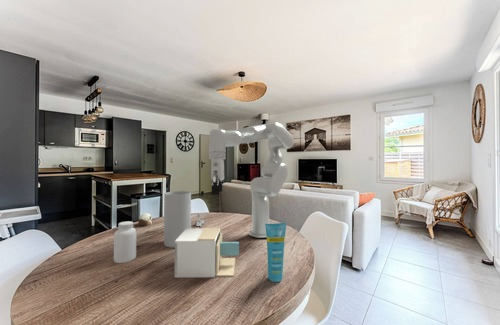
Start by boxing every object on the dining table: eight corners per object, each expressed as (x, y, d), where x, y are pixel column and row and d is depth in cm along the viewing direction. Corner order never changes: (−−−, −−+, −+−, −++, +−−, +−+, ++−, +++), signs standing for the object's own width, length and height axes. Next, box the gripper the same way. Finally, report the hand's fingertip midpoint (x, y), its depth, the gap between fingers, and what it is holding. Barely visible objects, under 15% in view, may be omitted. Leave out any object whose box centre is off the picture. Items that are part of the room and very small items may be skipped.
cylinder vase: (183, 237, 112) (183, 190, 112) (195, 243, 103) (195, 192, 103) (159, 243, 103) (160, 192, 103) (170, 250, 94) (170, 195, 94)
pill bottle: (140, 256, 88) (140, 221, 88) (123, 265, 80) (123, 226, 80) (126, 253, 91) (126, 219, 91) (108, 262, 83) (109, 224, 83)
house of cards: (210, 227, 129) (210, 215, 129) (195, 228, 127) (195, 216, 127) (208, 223, 138) (208, 211, 138) (195, 224, 135) (195, 212, 135)
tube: (267, 283, 69) (267, 225, 69) (263, 275, 73) (263, 221, 73) (288, 280, 70) (288, 224, 70) (282, 273, 75) (283, 220, 75)
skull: (140, 220, 138) (152, 209, 138) (150, 232, 136) (161, 221, 136) (128, 224, 126) (141, 212, 126) (139, 237, 124) (151, 225, 124)
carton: (235, 258, 86) (235, 227, 86) (233, 277, 72) (233, 239, 72) (186, 258, 86) (186, 227, 86) (174, 277, 72) (174, 239, 72)
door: (239, 255, 87) (239, 232, 87) (238, 263, 80) (238, 238, 80) (220, 255, 87) (220, 232, 87) (218, 263, 80) (218, 238, 80)
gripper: (223, 155, 88) (222, 195, 88) (227, 156, 105) (227, 190, 105) (205, 155, 88) (205, 195, 88) (212, 156, 105) (212, 190, 105)
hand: (217, 192), depth 96 cm, fingers open, 9 cm apart
